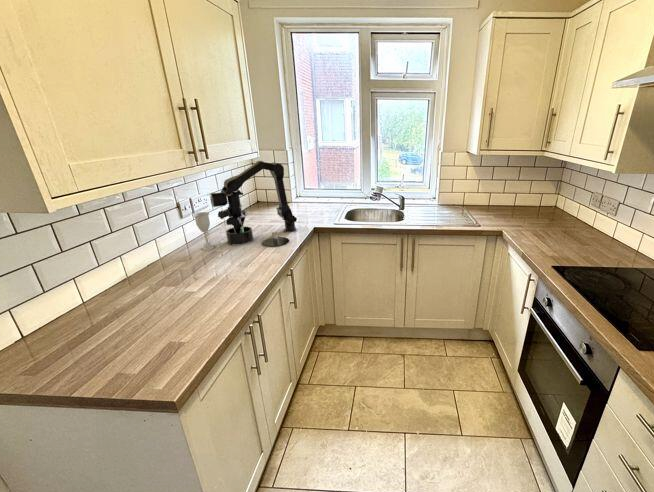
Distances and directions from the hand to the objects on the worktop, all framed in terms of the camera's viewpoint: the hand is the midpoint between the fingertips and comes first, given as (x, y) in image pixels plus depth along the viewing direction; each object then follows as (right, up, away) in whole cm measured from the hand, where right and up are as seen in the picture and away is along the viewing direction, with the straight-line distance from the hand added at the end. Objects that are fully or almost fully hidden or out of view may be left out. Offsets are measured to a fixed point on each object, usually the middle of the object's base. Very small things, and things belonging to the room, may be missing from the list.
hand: (239, 232), depth 169 cm
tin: (0, -5, +2) cm, 5 cm away
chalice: (-12, -9, -8) cm, 17 cm away
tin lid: (+20, -5, 0) cm, 20 cm away
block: (0, -1, 0) cm, 1 cm away
